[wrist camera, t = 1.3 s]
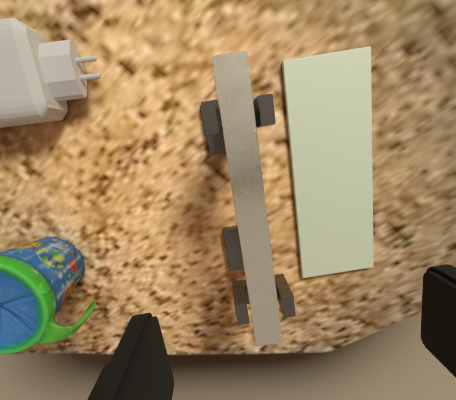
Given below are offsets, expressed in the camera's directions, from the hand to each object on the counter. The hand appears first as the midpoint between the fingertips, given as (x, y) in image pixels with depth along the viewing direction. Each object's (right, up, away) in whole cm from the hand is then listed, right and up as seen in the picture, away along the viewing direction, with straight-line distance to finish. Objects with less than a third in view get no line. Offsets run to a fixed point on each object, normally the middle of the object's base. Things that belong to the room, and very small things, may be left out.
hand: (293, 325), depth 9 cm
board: (+11, +8, +23) cm, 27 cm away
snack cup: (-26, -4, +25) cm, 36 cm away
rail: (0, +3, +13) cm, 13 cm away
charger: (-24, +18, +20) cm, 36 cm away
